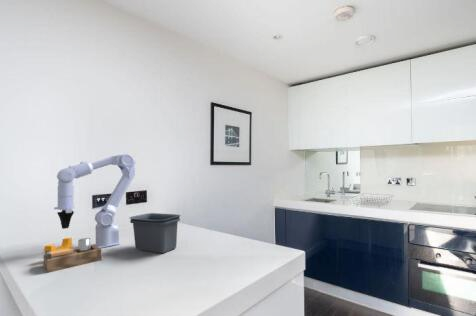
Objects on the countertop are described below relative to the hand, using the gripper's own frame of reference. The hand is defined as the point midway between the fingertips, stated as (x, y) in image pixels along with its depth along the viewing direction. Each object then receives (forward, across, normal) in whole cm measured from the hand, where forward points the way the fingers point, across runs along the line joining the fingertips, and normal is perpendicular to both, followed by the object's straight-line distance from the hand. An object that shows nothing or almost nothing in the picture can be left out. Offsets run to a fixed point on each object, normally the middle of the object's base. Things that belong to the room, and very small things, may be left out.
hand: (65, 228), depth 113 cm
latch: (+6, +17, -5) cm, 19 cm away
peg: (+10, +17, +4) cm, 20 cm away
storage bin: (+10, +24, +30) cm, 40 cm away
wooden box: (+10, +17, 0) cm, 20 cm away
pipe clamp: (+11, +5, -4) cm, 12 cm away
